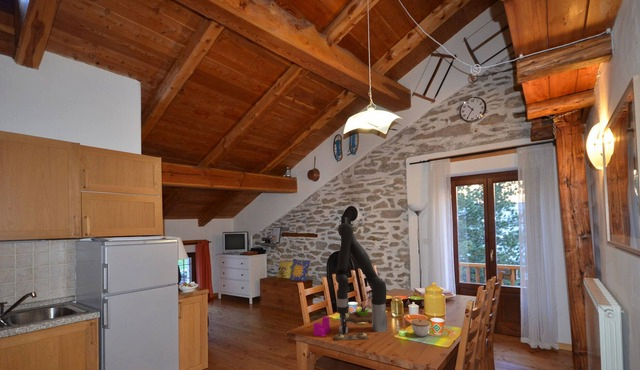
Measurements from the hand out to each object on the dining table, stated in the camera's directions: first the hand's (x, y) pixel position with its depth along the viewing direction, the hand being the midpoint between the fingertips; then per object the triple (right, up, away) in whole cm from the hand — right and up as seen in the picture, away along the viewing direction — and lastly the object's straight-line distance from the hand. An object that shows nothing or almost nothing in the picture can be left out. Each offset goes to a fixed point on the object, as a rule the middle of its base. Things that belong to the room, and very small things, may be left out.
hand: (343, 331), depth 227 cm
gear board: (+4, 0, -10) cm, 11 cm away
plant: (+16, -2, +27) cm, 31 cm away
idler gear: (0, -1, 0) cm, 1 cm away
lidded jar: (+48, +1, -7) cm, 48 cm away
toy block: (-13, -2, +2) cm, 13 cm away
